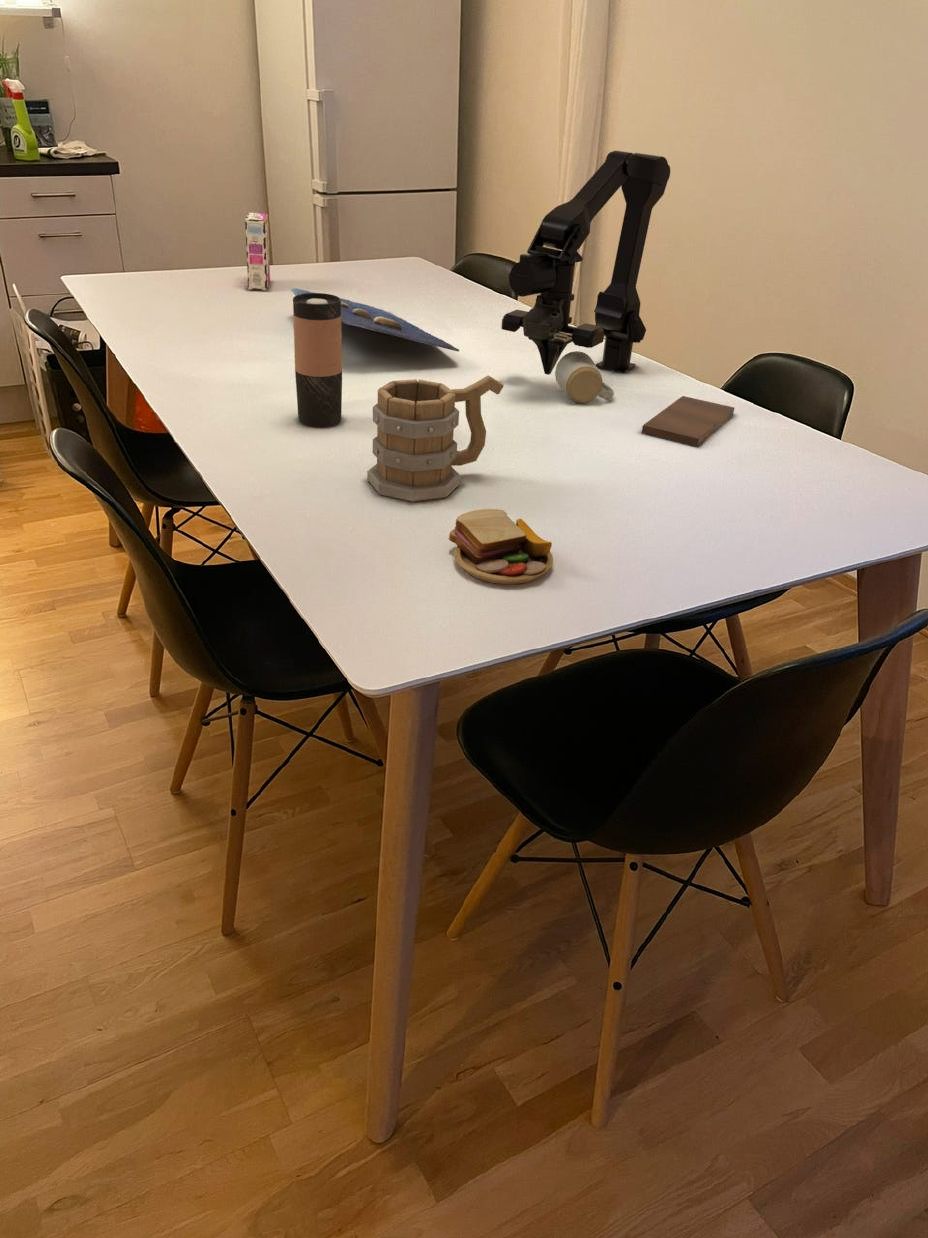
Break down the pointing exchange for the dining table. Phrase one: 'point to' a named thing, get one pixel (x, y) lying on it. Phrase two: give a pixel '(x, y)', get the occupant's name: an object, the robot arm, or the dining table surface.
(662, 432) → the walnut board
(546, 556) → the toy sandwich meal
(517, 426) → the dining table surface
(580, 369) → the ceramic mug
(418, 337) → the serving platter
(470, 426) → the tankard
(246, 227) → the candy bar box
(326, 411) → the travel mug
